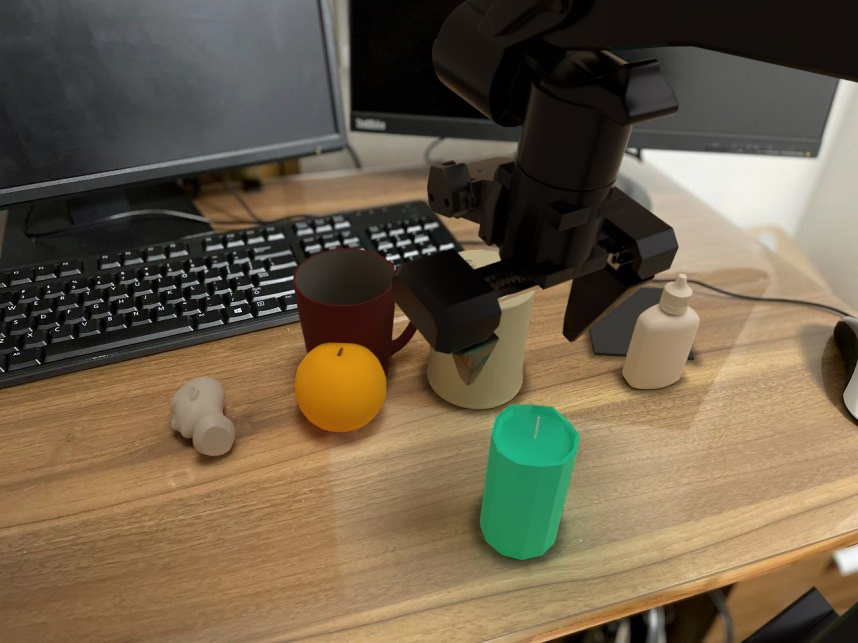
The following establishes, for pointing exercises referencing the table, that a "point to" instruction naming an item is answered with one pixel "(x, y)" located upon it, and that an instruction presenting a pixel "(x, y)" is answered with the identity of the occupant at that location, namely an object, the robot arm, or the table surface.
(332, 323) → the mug
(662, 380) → the eye dropper bottle
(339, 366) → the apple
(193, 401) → the pale two-lobed sculpture
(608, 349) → the felt mat
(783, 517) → the table surface
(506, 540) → the candle
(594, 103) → the robot arm
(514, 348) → the can
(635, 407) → the table surface
